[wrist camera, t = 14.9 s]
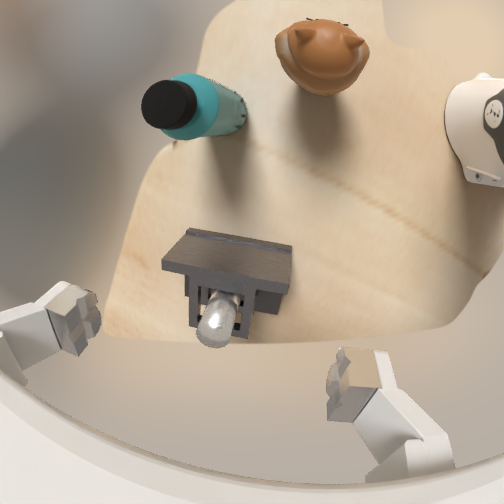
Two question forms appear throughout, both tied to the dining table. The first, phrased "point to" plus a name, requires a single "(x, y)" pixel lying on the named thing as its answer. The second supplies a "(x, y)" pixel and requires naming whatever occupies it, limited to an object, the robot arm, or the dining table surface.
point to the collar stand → (231, 272)
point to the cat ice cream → (321, 55)
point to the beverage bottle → (193, 107)
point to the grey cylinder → (218, 319)
